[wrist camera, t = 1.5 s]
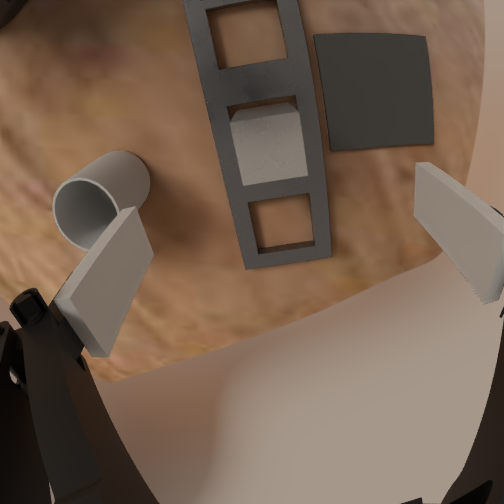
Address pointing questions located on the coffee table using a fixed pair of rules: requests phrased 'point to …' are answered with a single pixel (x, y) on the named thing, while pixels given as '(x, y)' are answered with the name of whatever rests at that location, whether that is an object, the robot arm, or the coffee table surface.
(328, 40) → the rubber mat
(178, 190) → the coffee table surface
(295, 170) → the grey rectangular block
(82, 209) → the cup
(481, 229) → the robot arm
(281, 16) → the rail
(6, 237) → the coffee table surface
